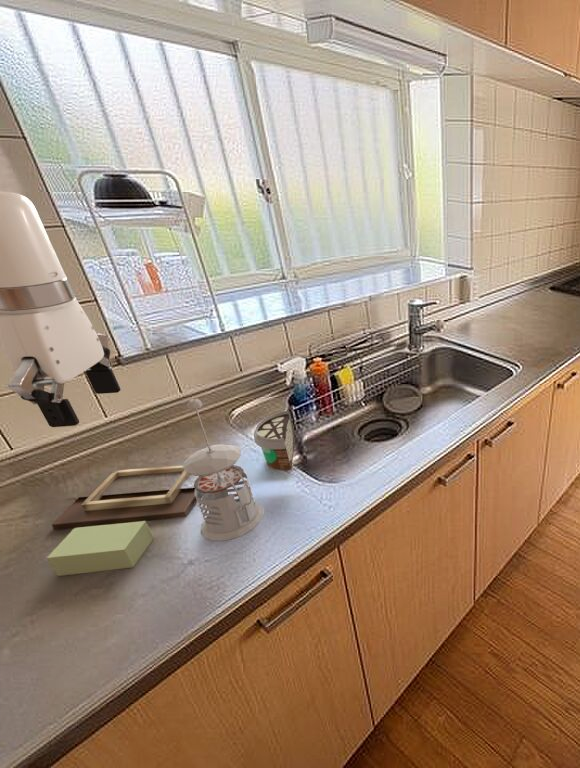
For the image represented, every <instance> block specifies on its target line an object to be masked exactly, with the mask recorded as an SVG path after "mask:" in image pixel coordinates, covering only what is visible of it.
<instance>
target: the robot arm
mask: <svg viewBox="0 0 580 768" xmlns="http://www.w3.org/2000/svg"><path fill="white" fill-rule="evenodd" d="M0 345H1V348H2V350H3V354H4V355H5V357H6V359H7V362H8V364H9V366H10V368H11V371H13V375H12V377H11V378H10V380H9V382H8V384H7V388H8V389H9V390H11V391H12V392H14V393H15V394H17V395H18V396H19V397H20V398H21V399H22V400H24V401H27V402H30V403H31V405H37V406H38V408H39V410H40V412H41V413H42V416H43V417H44V419H45V421H46V422H47V424H48V425H49V427H51V428H62V427H63V428H64V427H75V426H77V425H79V424H80V420H79V418H78V416H77V413H76V412H75V410H74V408H73V406H72V404H71V402H70V400H69V398H63V397H64V388H65V384H66V383H68V382H70V381H71V380H73V379H74V378H77V377H78V376H79V375H81V374H83V373H84V372H85V374H86V376H87V378H88V382H89V383H90V385H91V387H92V389H93V391H94V393H95V394H97V395H100V394H101V395H103V394H117V393H119V392H121V387H120V384H119V383H118V380H117V378H116V376H115V374H114V371H113V369H112V368H113V362H112V360H110V358H111V350H110V348H109V338H108V336H107V335H106V334H103V333H97V331H96V330H95V327H94V326H93V324H92V322H91V321H90V319H89V317H88V315H87V313H86V312H85V310H84V309H83V307H82V306H81V304H80V303H79V301H78V299H77V298H76V296H75V293H74V291H73V289H72V286H71V285H70V282H69V280H68V278H67V275H66V273H65V271H64V269H63V266H62V264H61V263H60V260H59V257H58V255H57V252H56V251H55V248H54V247H53V244H52V242H51V240H50V238H49V235H48V233H47V231H46V229H45V226H44V223H43V222H42V220H41V218H40V216H39V213H38V211H37V209H36V206H35V205H34V204H33V201H31V200H30V199H29V198H28V197H26V196H25V195H23V194H20V193H17V192H13V191H1V190H0ZM51 377H52V378H51ZM45 386H47V387H48V386H51V388H50V392H49V391H46V390H45Z"/></svg>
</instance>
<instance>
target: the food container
mask: <svg viewBox="0 0 580 768" xmlns="http://www.w3.org/2000/svg"><path fill="white" fill-rule="evenodd" d="M292 425H293V424H292V421H291V413H290V410H289V409H288V410H281V411H278V412H275V413H272V414H269V415H267V416H266V417H264V418H263V419H261V420H260V421H259V422H258V423H257V424H256V425H255V429H254V433H253V435H254V438H253V439H254V443H255V444H256V445H257V446H259V447H260V448H261V451H262V454H263V457H264V460H265V462H266V465H267V466H268V467H269V468H270V469H272V470H276V471H290V470H292V468H293V467H292V466H293V459H294V452H295V444H296V440H295V434H294V430H293V426H292Z"/></svg>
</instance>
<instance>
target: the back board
mask: <svg viewBox="0 0 580 768" xmlns="http://www.w3.org/2000/svg"><path fill="white" fill-rule="evenodd" d="M183 465H184V464H183ZM183 465H170V466H169V465H168V466H158V467H143V468H130V469H116V470H115V469H114V470H113V471H112V473H110V475H108V476H107V477H106V479H105V480H104V481H103V482H101V483H100V485H98V486H97V488H96V489H95V490H94V491H93V492H92V493H90V495H89V496H80V497H78V498H76V499H75V500H74V502H72V504H71V505H70V506H68V507H67V508H66V510H64V512H63V513H61V514H60V515H59V516H58V517H57V519H55V521H53V522H52V523H51V527H52V528H53V529H54V530H63V529H74V528H79V527H90V526H100V525H110V524H120V523H131V522H141V521H146V522H148V521H157V520H167V519H177V518H186V517H187V516H188V515H189V514H190V512H191V510H192V509H193V507H194V505H195V504H196V503H197V500H196V497H195V494H194V492H195V487H185V488H181V487H182V486H183V484H184V483H185V482H186V480H187V479H188V477H189V476H190V475H191V474H188V473H186V472H185V470H184V469H183ZM175 472H176V473H178V472H181V474H180V476H179V477H178V478H177V479H176V480H175V482H174V484H173V485H172V486H171V488H170V489H162V490H161V489H160V490H149V491H138V492H127V493H126V492H125V493H116V494H115V493H114V494H113V493H112V494H103V493H104V492H105V491H106V490H107V489H108V488H109V487H110V486H111V485H112V484H113V483H114V482H115V481H116V479H118V477H127V476H138V475H140V476H141V475H152V474H164V473H165V474H166V473H175Z"/></svg>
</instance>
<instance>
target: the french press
mask: <svg viewBox="0 0 580 768" xmlns="http://www.w3.org/2000/svg"><path fill="white" fill-rule="evenodd" d="M186 404H187V405H186V406H187V408H188V409H189V410H195V414H196V415H197V419H198V421H199V424H200V427H201V430H202V431H201V432H202V433H203V436H204V439H205V442H206V447H204V448H202V449H199V450H196V451H195V452H194V453H192V454H191V455H190V456H188V457H187V459H185V461H184V462H183V469H184V470H185V472H186V473H188V474H190V475H191V476H194V477H197V478H196V479H195V480H194V482H193V488H195V492H194V494H195V497H196V500H197V501H196V503H197V504H198V507H199V509H200V513H201V515H202V518H203V520H204V521H203V522H202V523H201V527H200V534H201V535H202V536H203V537H204V538H205V539H207V540H210V541H213V542H217V541H218V542H219V541H228V540H231V539H236V538H238V537H240V536H243V535H245V534H246V533H248V532H250V531H252V530H253V529H254V528H255V527H256V526H258V524H260V522H261V521H262V518H263V517H264V513H265V512H264V507H263V506H262V505H261V504H260V503H259V502H257V501H255V499H254V495H253V493H252V489H251V486H250V482H249V479H248V475H247V473H245V472H244V469H243V467H241V466H238V465H235V464H236V463H237V461H238V460H239V459H240V457H241V456H242V450H241V449H240V448H239V446H236V445H232V444H211V445H210V443H209V440H208V437H207V433H206V431H205V427H204V425H203V421H202V419H201V415H200V413H199V410H198V409H199V408H201V407H202V406H203V402H202V401H201V400H200V399H199V398H192V399H191V400H188V401H187V403H186ZM244 478H245V479H244ZM241 485H243V486H241ZM236 486H240V487H236ZM233 492H235V493H233ZM229 493H230V494H229ZM231 493H232V494H231ZM236 497H237V498H236Z"/></svg>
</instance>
